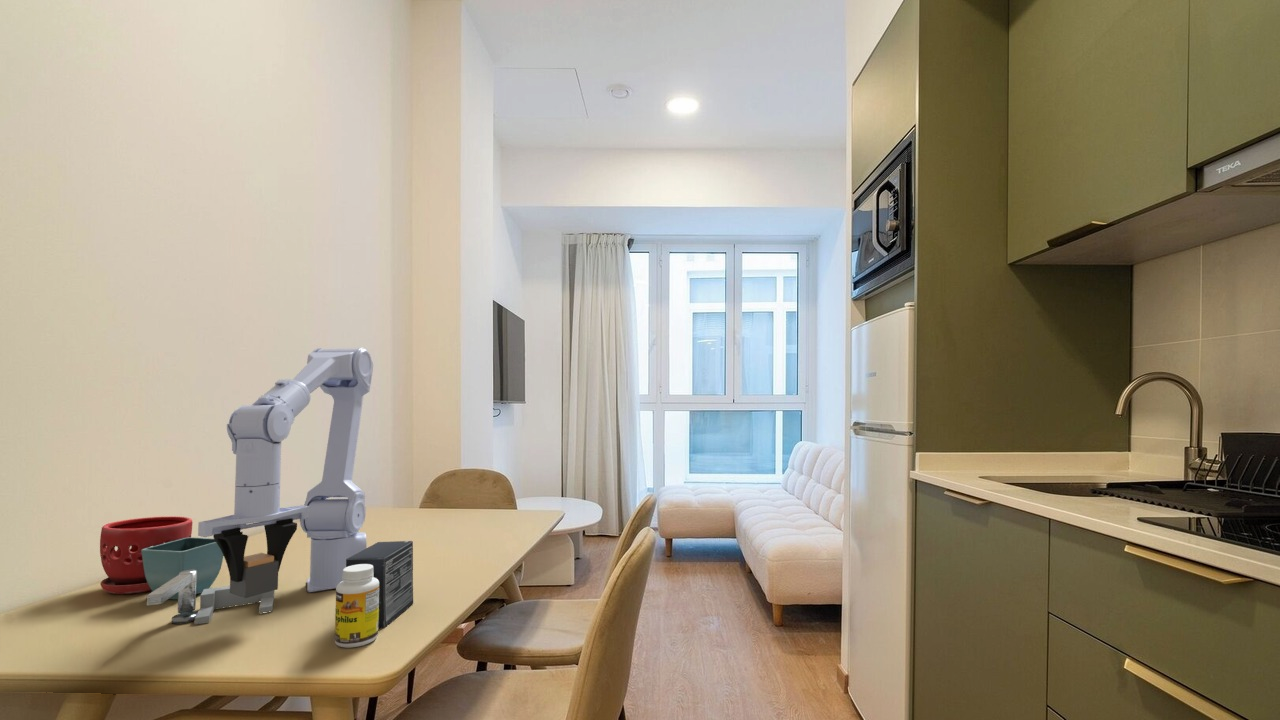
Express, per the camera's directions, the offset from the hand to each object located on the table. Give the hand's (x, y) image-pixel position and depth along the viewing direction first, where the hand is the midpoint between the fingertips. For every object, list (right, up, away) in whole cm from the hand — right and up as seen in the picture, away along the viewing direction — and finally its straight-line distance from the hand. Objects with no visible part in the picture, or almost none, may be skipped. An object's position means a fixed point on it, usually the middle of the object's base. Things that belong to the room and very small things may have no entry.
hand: (255, 575), depth 87 cm
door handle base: (-13, -8, +4) cm, 16 cm away
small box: (+17, -8, +5) cm, 19 cm away
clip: (-12, -7, -1) cm, 14 cm away
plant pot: (-34, -10, +21) cm, 41 cm away
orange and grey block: (0, -2, 0) cm, 2 cm away
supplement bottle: (+18, -8, -5) cm, 20 cm away
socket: (-8, -9, +7) cm, 13 cm away
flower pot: (-23, -9, +16) cm, 29 cm away
